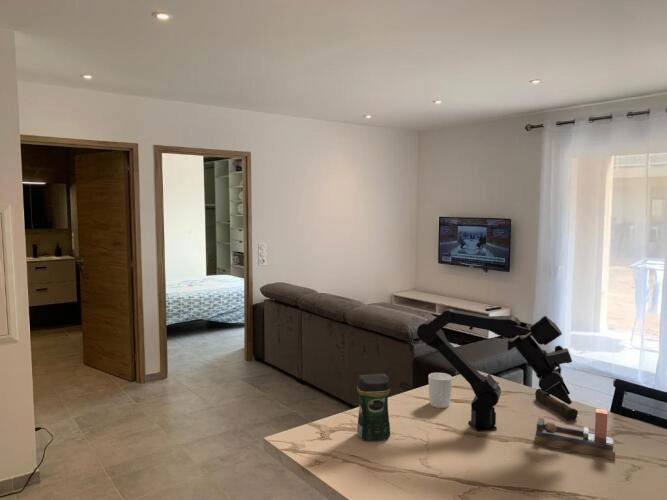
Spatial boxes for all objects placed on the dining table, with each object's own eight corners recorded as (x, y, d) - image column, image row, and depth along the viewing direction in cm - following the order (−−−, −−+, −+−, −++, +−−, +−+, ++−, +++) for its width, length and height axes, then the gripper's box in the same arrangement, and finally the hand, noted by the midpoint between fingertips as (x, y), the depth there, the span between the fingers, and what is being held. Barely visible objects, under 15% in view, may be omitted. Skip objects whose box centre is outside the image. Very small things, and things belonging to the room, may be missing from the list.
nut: (548, 436, 142) (549, 425, 141) (541, 431, 145) (542, 420, 145) (558, 435, 142) (559, 424, 142) (551, 430, 145) (552, 419, 145)
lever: (583, 441, 138) (584, 411, 137) (583, 435, 142) (584, 405, 141) (612, 447, 134) (614, 416, 134) (612, 441, 138) (613, 410, 138)
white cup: (453, 409, 166) (454, 380, 165) (430, 409, 166) (430, 380, 165) (448, 400, 174) (449, 372, 173) (426, 400, 174) (426, 372, 173)
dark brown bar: (578, 421, 157) (578, 406, 157) (567, 421, 157) (567, 407, 156) (542, 399, 176) (543, 386, 176) (532, 399, 175) (533, 387, 175)
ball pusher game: (534, 443, 142) (535, 426, 141) (537, 431, 149) (538, 415, 149) (614, 459, 132) (615, 441, 132) (613, 445, 140) (614, 428, 140)
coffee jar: (385, 429, 151) (386, 369, 149) (392, 441, 143) (393, 378, 141) (354, 431, 149) (355, 371, 148) (359, 443, 141) (360, 380, 140)
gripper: (557, 344, 134) (597, 392, 130) (554, 332, 151) (590, 375, 147) (522, 366, 137) (561, 414, 134) (524, 353, 154) (558, 395, 151)
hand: (569, 398), depth 141 cm, fingers open, 9 cm apart
